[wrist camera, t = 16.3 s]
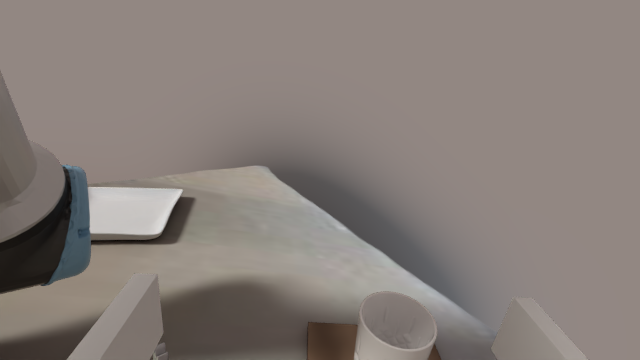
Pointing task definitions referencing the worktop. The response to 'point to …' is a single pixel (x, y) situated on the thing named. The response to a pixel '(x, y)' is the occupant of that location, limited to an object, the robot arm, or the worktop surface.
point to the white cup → (394, 328)
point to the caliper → (160, 352)
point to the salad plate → (130, 212)
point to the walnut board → (337, 342)
